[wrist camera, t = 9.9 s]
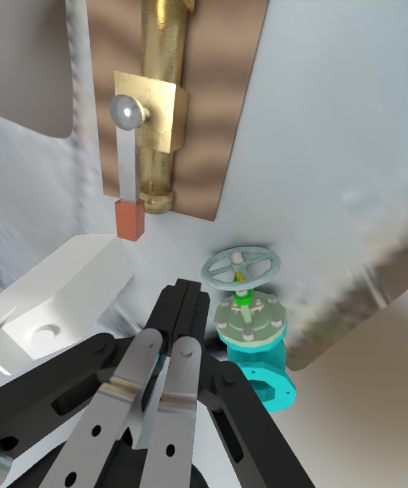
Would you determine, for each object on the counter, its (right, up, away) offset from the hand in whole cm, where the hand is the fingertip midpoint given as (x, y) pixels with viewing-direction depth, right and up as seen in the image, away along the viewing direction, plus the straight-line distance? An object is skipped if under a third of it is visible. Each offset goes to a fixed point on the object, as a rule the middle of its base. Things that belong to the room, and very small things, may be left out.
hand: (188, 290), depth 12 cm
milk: (-23, 0, +36) cm, 43 cm away
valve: (+12, -8, +35) cm, 37 cm away
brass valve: (-5, +23, +18) cm, 30 cm away
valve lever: (-8, +12, +12) cm, 18 cm away
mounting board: (-5, +23, +18) cm, 30 cm away
